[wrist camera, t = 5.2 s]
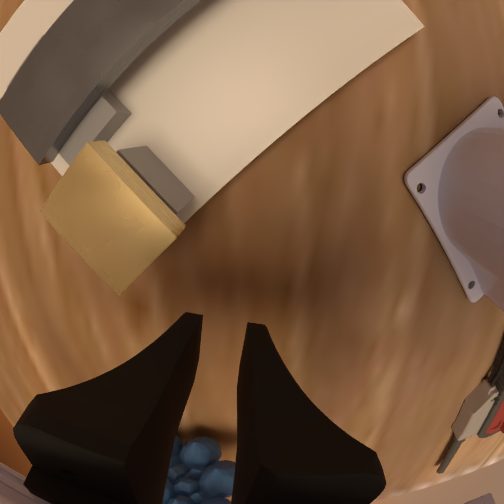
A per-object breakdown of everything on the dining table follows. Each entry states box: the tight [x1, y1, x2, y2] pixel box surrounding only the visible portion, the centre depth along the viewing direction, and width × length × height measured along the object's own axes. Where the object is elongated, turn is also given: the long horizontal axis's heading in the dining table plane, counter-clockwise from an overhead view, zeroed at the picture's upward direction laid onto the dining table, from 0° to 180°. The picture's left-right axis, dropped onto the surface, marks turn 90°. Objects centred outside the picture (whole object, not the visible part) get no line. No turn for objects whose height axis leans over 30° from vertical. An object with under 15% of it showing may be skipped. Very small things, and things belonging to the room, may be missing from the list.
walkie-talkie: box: [437, 338, 504, 474], centre depth 18 cm, size 9×4×20 cm
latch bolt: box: [40, 140, 186, 296], centre depth 9 cm, size 4×3×1 cm
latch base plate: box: [0, 0, 424, 223], centre depth 9 cm, size 16×17×4 cm
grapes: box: [162, 434, 235, 504], centre depth 15 cm, size 12×7×12 cm, turn 97°
